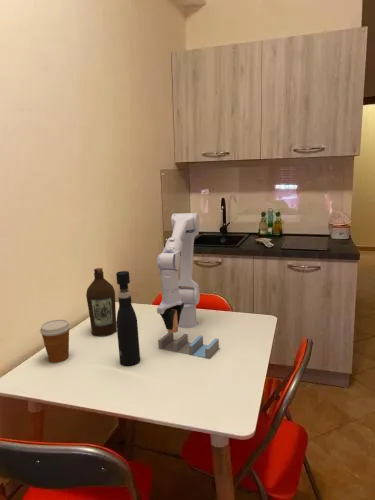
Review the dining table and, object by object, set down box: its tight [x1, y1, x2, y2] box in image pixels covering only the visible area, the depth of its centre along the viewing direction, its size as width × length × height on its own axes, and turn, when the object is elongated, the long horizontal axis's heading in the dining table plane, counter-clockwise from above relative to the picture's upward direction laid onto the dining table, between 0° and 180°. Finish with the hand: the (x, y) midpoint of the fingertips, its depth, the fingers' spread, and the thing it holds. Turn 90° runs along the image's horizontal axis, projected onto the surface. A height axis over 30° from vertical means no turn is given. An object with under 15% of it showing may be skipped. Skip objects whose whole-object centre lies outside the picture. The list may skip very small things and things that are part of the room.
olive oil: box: [86, 267, 117, 337], centre depth 143 cm, size 11×11×25 cm
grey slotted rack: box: [157, 331, 220, 360], centre depth 125 cm, size 19×8×4 cm, turn 62°
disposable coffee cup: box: [39, 319, 71, 364], centre depth 124 cm, size 10×10×12 cm
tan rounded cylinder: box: [166, 309, 179, 334], centre depth 126 cm, size 4×4×7 cm
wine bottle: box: [115, 270, 141, 367], centre depth 116 cm, size 6×6×30 cm
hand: (172, 326), depth 127 cm, fingers closed on tan rounded cylinder, 4 cm apart
